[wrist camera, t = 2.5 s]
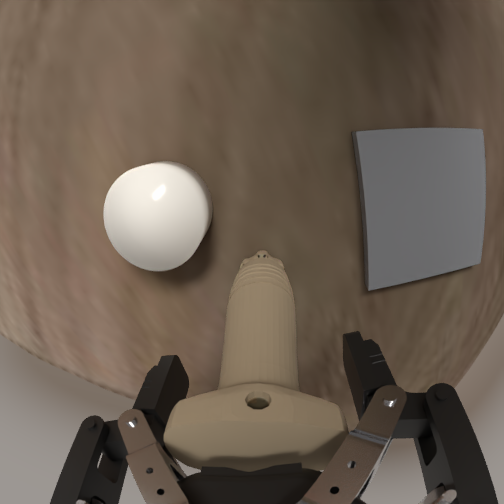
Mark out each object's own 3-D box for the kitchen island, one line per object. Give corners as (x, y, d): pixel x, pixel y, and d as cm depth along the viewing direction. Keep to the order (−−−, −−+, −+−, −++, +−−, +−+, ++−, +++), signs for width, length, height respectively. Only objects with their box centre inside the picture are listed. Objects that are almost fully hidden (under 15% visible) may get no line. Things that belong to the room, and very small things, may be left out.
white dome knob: (116, 174, 19) (91, 182, 16) (200, 150, 19) (187, 152, 15) (140, 258, 22) (123, 277, 19) (222, 242, 21) (215, 262, 18)
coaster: (351, 131, 18) (355, 131, 17) (475, 128, 16) (482, 129, 15) (365, 284, 22) (368, 290, 21) (474, 259, 21) (480, 263, 20)
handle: (218, 237, 21) (148, 410, 7) (306, 239, 21) (366, 415, 7) (221, 294, 23) (178, 470, 9) (301, 296, 22) (332, 474, 9)
